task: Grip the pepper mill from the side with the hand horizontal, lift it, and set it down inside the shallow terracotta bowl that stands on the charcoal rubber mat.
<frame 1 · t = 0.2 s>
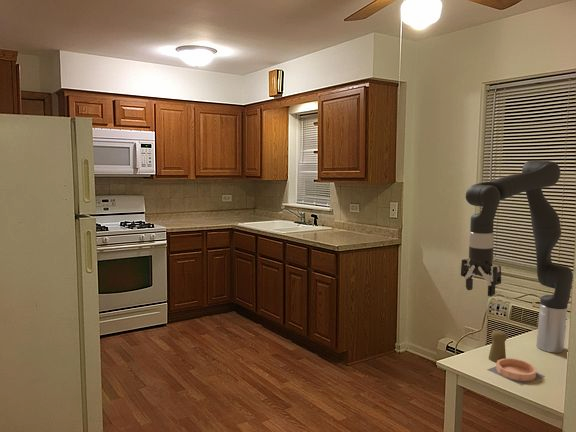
hand: (479, 292, 160), 29 cm above the table, tool pointing down, fingers open, 8 cm apart
pepper mill: (497, 361, 175), on the table
bowl: (515, 372, 164), resting on mat
mat: (515, 373, 164), on the table
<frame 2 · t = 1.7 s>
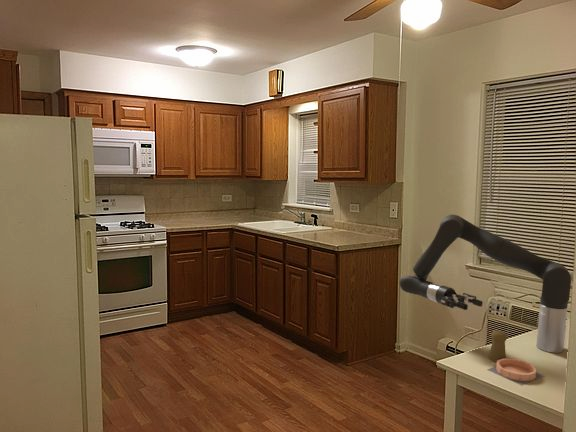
hand: (474, 305, 182), 17 cm above the table, tool horizontal, fingers open, 8 cm apart
nothing on the table moved.
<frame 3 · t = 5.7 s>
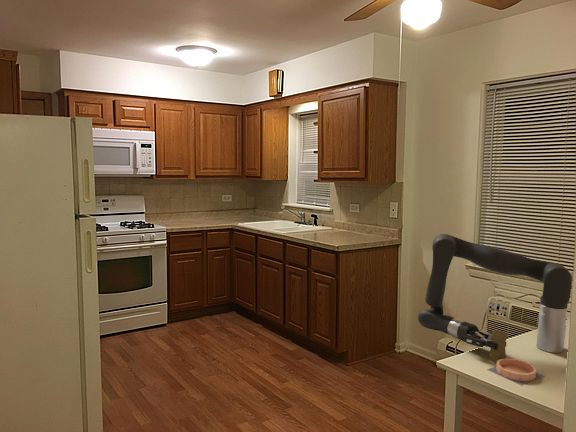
hand: (501, 345, 173), 6 cm above the table, tool horizontal, fingers closed on pepper mill, 4 cm apart
pepper mill: (497, 360, 175), on the table, touching gripper
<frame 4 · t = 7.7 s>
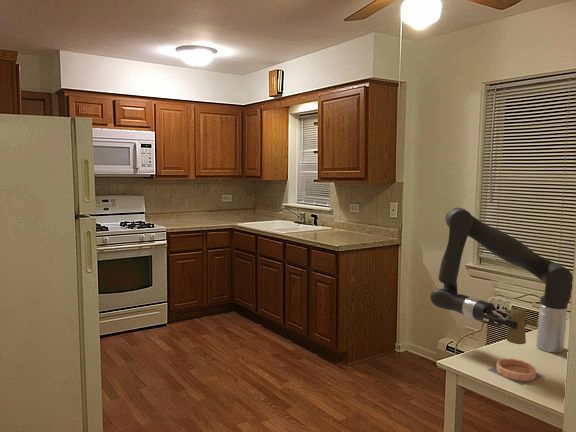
hand: (521, 325, 161), 18 cm above the table, tool horizontal, fingers closed on pepper mill, 4 cm apart
pepper mill: (515, 341, 163), point 11 cm above the table, touching gripper
when the fingers open (7 cm above the table, at t = 10.1 s): pepper mill stays where it is, resting on bowl.
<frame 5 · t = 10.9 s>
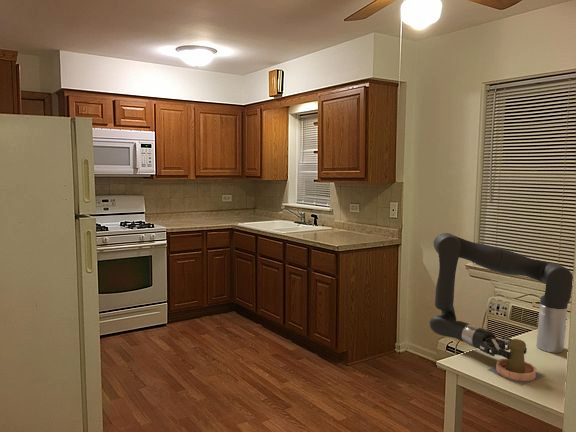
hand: (518, 353, 163), 8 cm above the table, tool horizontal, fingers open, 8 cm apart
pepper mill: (515, 371, 164), point 1 cm above the table, touching bowl
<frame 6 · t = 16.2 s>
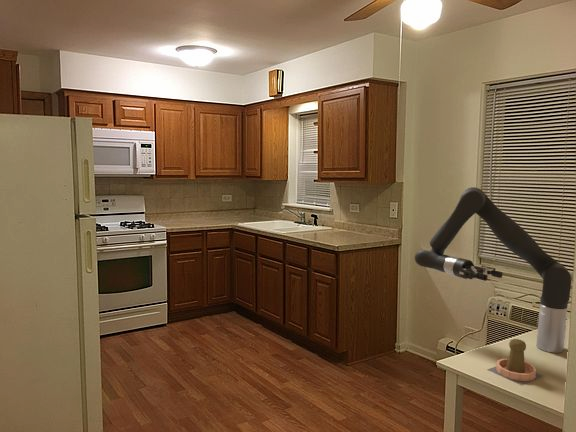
hand: (494, 276, 176), 30 cm above the table, tool horizontal, fingers open, 8 cm apart
nothing on the table moved.
at the end: pepper mill 0.1 cm from the bowl (horizontally); pepper mill tilted 0°; pepper mill point 0.8 cm above the table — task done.
